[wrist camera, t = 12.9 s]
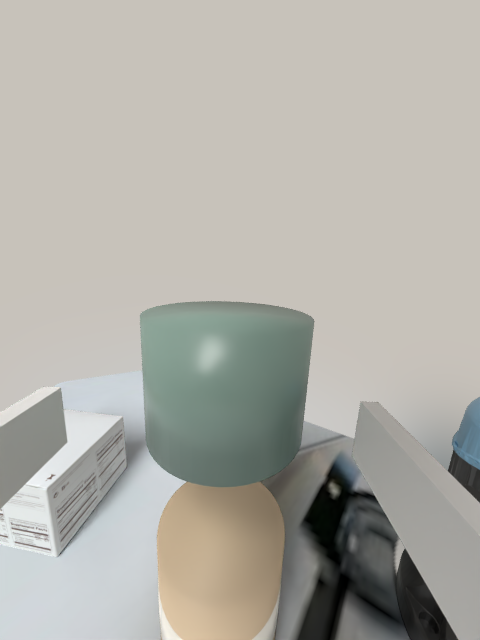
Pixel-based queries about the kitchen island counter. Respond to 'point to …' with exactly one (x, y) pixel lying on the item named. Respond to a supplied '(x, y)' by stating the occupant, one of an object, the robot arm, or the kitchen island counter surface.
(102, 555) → the kitchen island counter surface
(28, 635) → the kitchen island counter surface
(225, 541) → the tan white-banded canister
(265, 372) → the cap
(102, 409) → the kitchen island counter surface
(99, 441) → the supplement box
